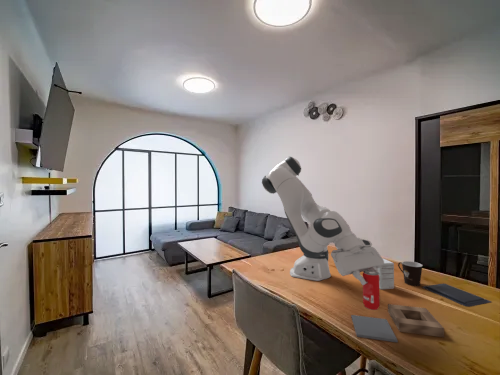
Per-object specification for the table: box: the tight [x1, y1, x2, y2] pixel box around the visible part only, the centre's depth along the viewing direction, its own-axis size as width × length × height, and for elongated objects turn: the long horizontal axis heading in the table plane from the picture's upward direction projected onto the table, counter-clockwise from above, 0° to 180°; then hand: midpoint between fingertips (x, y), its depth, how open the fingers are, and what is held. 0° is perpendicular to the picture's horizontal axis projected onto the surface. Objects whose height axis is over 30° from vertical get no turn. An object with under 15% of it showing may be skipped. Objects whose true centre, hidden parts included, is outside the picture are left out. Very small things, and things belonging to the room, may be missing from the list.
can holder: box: [387, 303, 445, 338], centre depth 85 cm, size 13×13×3 cm
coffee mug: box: [397, 260, 423, 287], centre depth 120 cm, size 12×9×10 cm
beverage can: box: [362, 270, 381, 311], centre depth 82 cm, size 5×5×12 cm
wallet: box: [421, 283, 492, 308], centre depth 107 cm, size 20×2×15 cm
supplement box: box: [377, 257, 395, 290], centre depth 116 cm, size 7×7×13 cm
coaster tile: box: [350, 314, 398, 343], centre depth 82 cm, size 12×12×1 cm
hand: (372, 282), depth 81 cm, fingers closed on beverage can, 5 cm apart
